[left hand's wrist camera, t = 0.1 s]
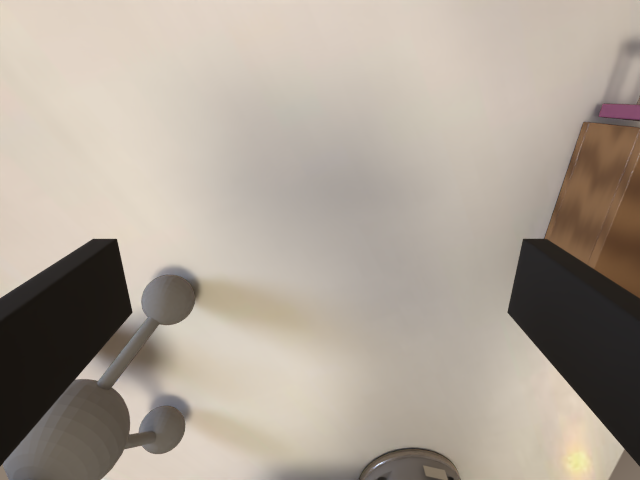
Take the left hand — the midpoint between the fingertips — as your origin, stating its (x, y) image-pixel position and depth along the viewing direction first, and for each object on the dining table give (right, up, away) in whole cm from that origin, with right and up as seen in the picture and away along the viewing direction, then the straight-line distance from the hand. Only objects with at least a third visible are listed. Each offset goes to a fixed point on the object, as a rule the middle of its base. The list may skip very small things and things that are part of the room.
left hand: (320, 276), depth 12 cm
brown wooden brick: (+28, +4, +29) cm, 40 cm away
